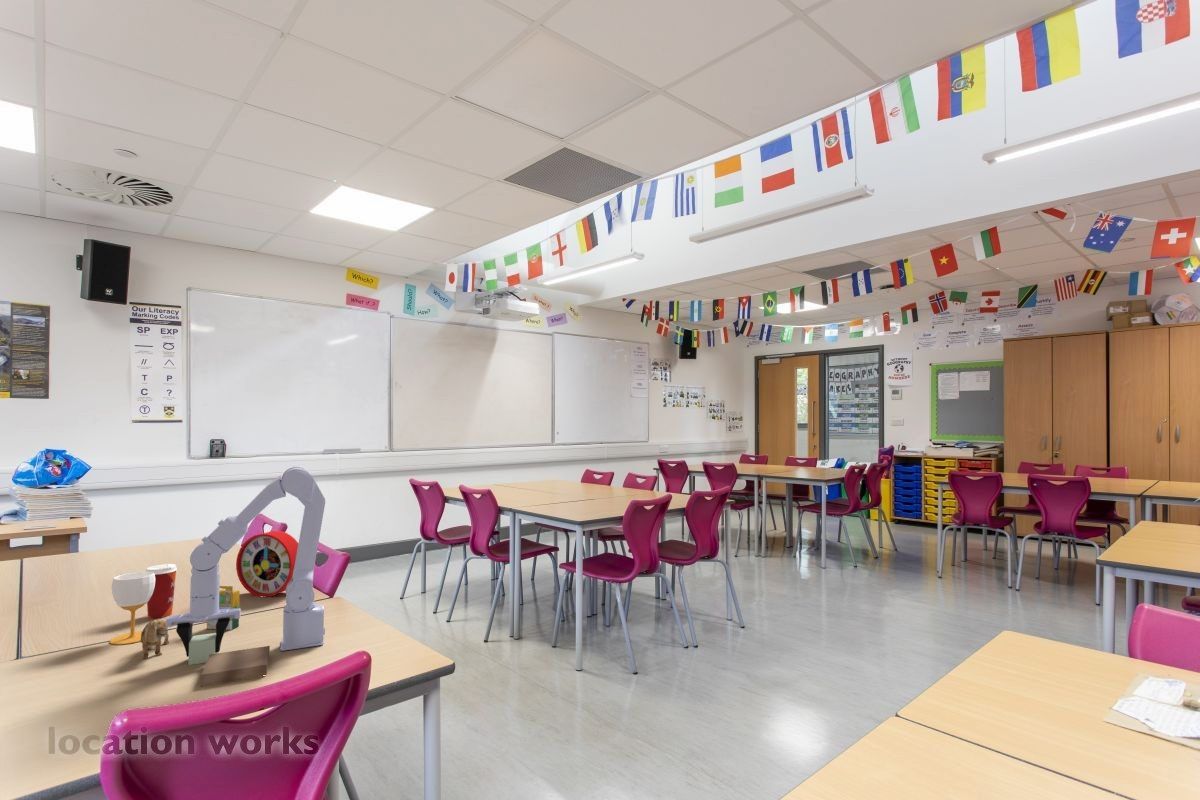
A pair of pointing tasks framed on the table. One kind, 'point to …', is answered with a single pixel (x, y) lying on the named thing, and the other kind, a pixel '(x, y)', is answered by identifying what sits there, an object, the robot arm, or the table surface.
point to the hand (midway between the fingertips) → (203, 653)
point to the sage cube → (201, 648)
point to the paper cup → (162, 591)
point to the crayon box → (227, 606)
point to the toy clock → (267, 563)
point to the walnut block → (235, 666)
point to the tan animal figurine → (154, 637)
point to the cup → (132, 599)
